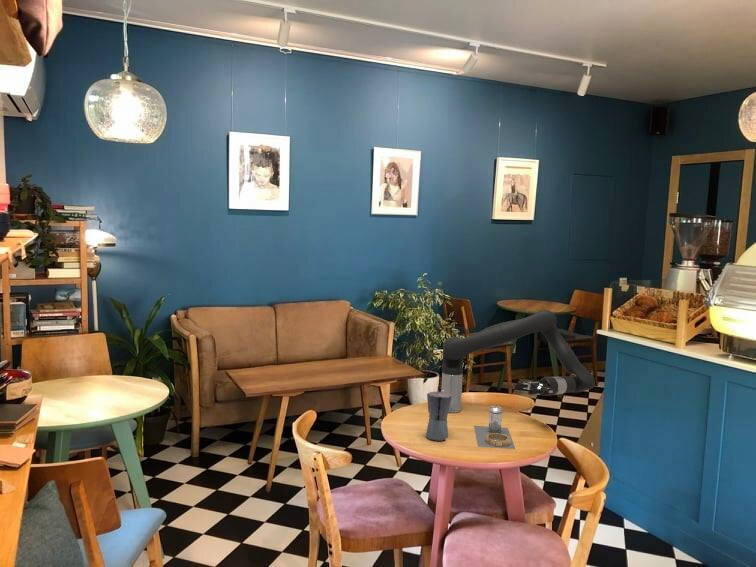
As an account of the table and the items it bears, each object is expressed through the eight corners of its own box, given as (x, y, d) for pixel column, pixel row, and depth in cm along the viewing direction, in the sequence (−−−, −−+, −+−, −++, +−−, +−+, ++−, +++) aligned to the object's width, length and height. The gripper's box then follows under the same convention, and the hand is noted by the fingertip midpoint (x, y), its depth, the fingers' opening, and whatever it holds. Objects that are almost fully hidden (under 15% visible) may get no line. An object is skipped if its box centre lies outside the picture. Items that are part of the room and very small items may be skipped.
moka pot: (447, 431, 240) (450, 383, 238) (451, 445, 225) (454, 394, 223) (424, 430, 240) (426, 382, 238) (426, 444, 225) (428, 393, 223)
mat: (477, 449, 222) (477, 446, 222) (473, 427, 246) (473, 425, 246) (515, 451, 221) (515, 449, 221) (507, 430, 245) (507, 427, 244)
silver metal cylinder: (488, 433, 237) (490, 409, 236) (487, 429, 242) (488, 405, 241) (501, 434, 236) (503, 410, 235) (500, 429, 241) (501, 406, 240)
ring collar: (486, 445, 223) (486, 440, 223) (484, 437, 232) (484, 432, 232) (511, 447, 222) (511, 442, 222) (508, 438, 231) (508, 433, 231)
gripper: (542, 373, 257) (511, 376, 250) (565, 381, 244) (533, 384, 237) (541, 390, 257) (511, 393, 251) (564, 399, 245) (532, 403, 238)
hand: (522, 389), depth 244 cm, fingers open, 8 cm apart
